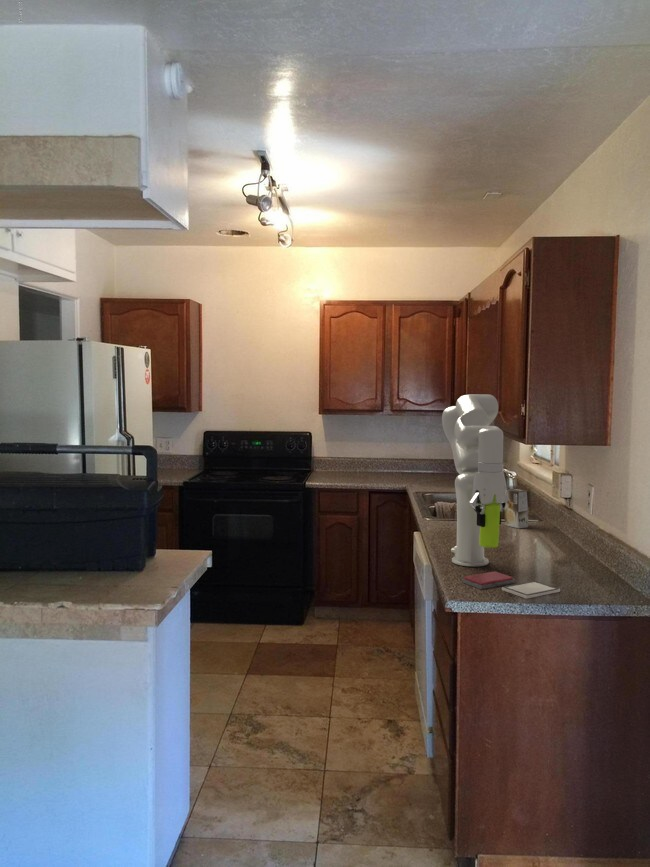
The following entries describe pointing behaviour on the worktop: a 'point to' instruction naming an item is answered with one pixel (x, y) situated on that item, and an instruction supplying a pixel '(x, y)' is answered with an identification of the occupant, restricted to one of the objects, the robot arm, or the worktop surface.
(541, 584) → the marked card
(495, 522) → the soap dispenser
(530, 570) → the worktop surface
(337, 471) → the worktop surface
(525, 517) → the coffee box
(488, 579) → the ink pad
